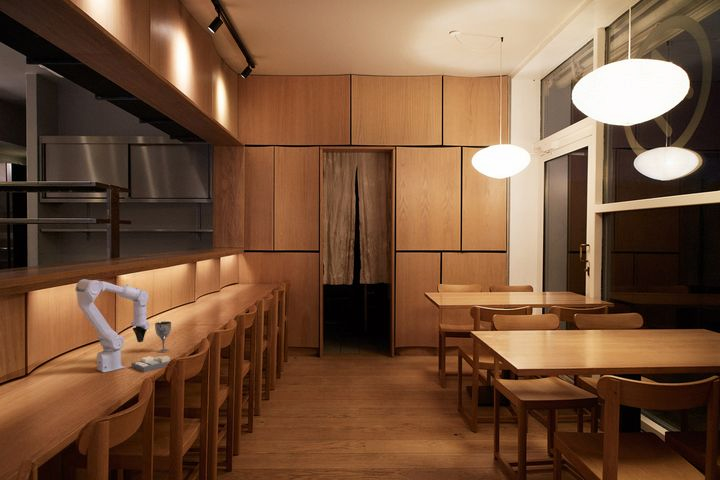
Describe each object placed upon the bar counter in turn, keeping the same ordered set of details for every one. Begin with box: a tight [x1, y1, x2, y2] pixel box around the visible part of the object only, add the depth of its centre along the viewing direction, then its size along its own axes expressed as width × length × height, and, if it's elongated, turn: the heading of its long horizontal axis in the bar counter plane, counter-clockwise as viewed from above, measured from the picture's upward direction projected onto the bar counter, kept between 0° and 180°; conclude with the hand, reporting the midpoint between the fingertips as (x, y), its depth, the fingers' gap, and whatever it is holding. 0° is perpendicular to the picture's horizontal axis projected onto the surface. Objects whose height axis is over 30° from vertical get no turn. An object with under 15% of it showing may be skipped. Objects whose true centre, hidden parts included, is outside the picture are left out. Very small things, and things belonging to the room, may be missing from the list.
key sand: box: [157, 355, 171, 363], centre depth 215 cm, size 4×4×2 cm
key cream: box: [140, 355, 154, 363], centre depth 214 cm, size 4×4×2 cm
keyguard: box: [130, 355, 173, 373], centre depth 214 cm, size 15×12×2 cm
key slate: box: [147, 361, 159, 365], centre depth 211 cm, size 4×4×2 cm
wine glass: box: [154, 320, 172, 354], centre depth 239 cm, size 8×8×15 cm
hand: (140, 341), depth 222 cm, fingers closed
